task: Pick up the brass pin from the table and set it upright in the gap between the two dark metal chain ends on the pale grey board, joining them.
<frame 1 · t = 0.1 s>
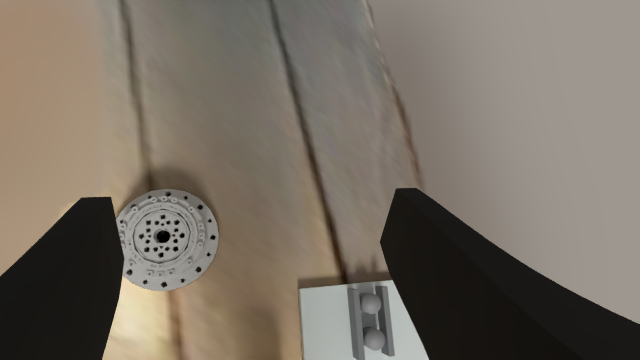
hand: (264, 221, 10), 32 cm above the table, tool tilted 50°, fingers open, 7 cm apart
mechanical component: (168, 239, 40), on the table
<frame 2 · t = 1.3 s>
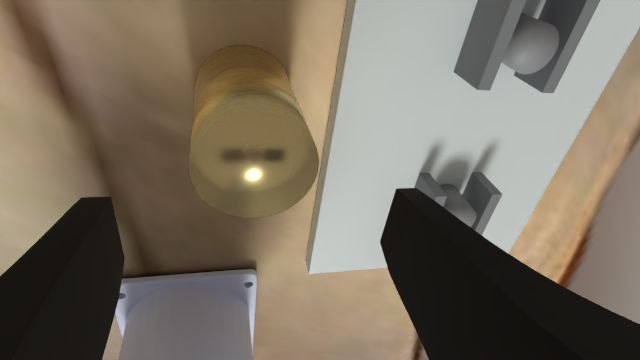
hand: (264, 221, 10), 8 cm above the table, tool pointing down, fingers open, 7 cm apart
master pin: (243, 91, 17), on the table
chain base: (458, 118, 20), on the table
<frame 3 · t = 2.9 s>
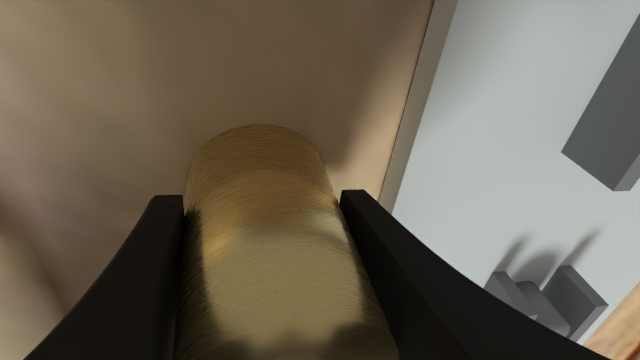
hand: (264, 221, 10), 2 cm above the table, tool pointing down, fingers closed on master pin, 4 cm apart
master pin: (258, 184, 12), on the table, touching gripper
chain base: (547, 199, 15), on the table
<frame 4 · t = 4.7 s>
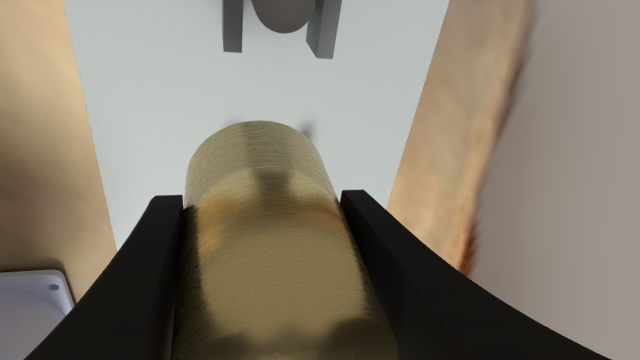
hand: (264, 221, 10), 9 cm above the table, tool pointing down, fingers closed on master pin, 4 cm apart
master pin: (257, 181, 11), point 7 cm above the table, touching gripper
chain base: (265, 94, 17), on the table
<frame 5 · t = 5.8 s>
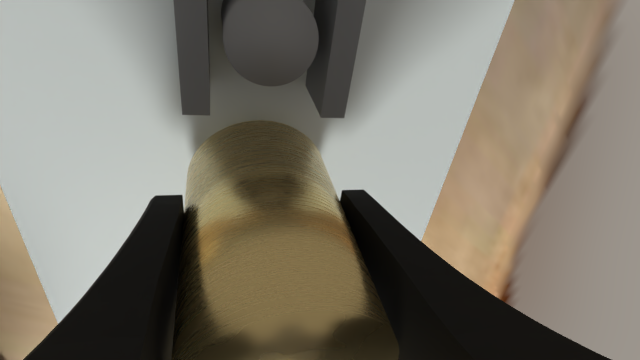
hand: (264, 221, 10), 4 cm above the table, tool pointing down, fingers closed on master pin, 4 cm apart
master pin: (258, 181, 11), point 2 cm above the table, touching gripper
chain base: (252, 149, 13), on the table
when the fingers open (4 cm above the table, at t = 6.6 s): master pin stays where it is, resting on chain base.
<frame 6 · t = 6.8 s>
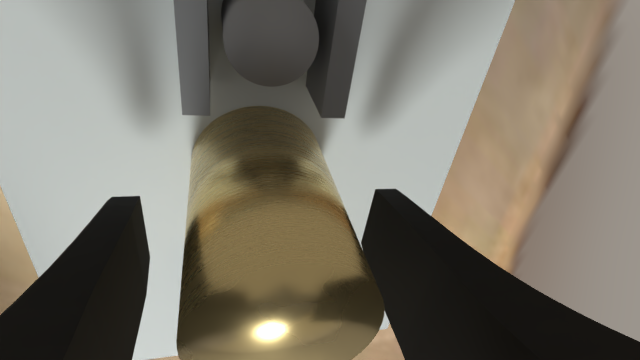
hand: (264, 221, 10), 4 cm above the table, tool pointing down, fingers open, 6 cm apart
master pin: (258, 164, 12), point 1 cm above the table, touching chain base
chain base: (253, 150, 13), on the table
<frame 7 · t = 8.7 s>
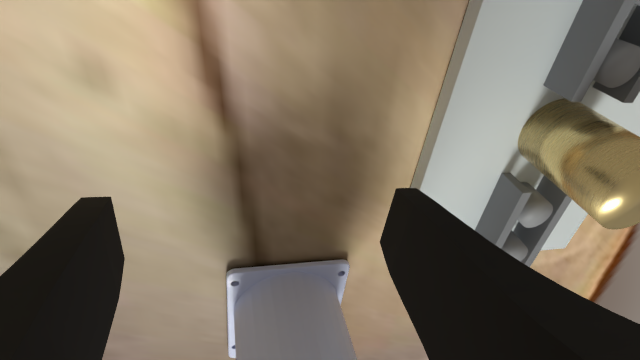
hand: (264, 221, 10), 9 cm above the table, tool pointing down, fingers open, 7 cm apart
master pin: (551, 131, 22), point 1 cm above the table, touching chain base
chain base: (537, 123, 23), on the table
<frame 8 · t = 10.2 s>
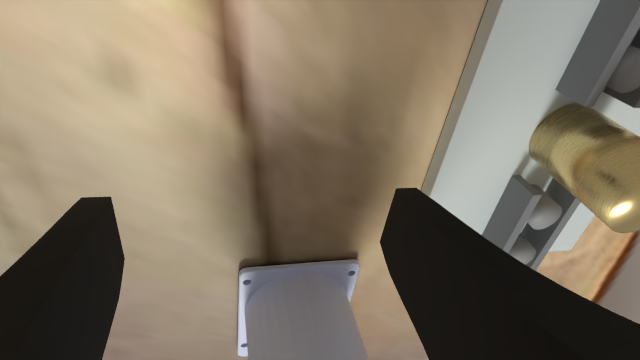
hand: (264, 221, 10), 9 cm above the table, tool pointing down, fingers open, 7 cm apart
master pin: (561, 134, 22), point 1 cm above the table, touching chain base
chain base: (547, 127, 23), on the table
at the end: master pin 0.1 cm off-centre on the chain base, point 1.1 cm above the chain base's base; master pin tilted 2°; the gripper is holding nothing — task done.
